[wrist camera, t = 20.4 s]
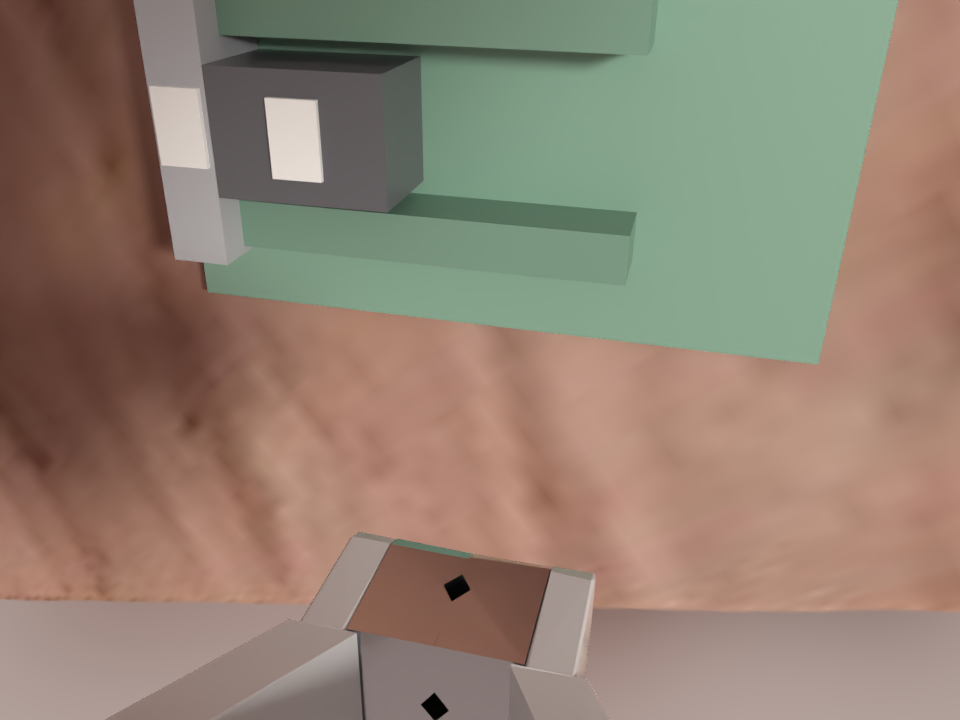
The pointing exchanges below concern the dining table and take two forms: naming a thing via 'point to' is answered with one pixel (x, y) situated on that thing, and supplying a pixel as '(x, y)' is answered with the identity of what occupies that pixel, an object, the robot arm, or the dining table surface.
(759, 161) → the board
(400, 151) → the labelled grey storage bin
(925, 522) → the dining table surface
